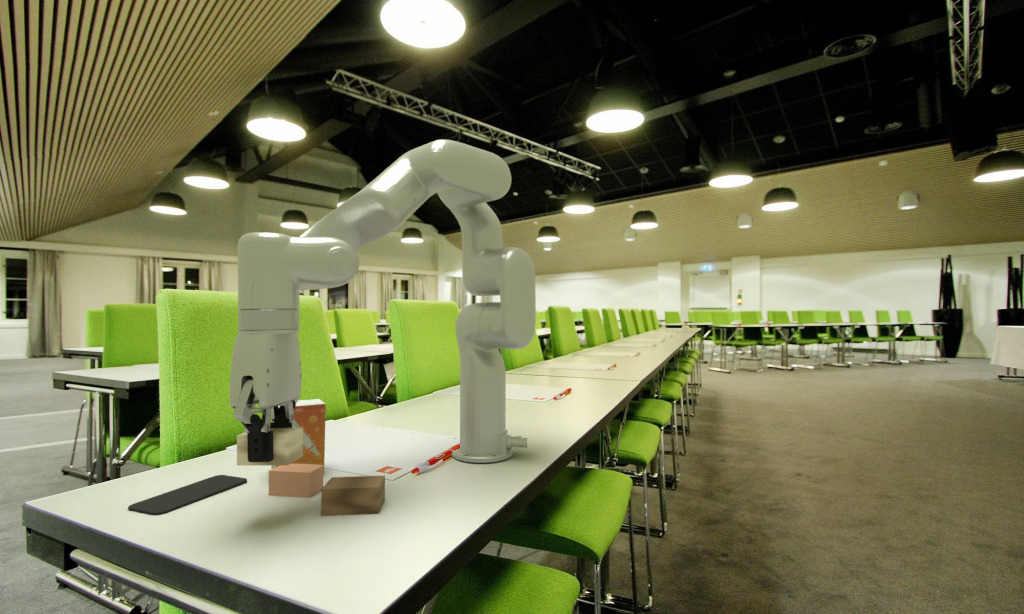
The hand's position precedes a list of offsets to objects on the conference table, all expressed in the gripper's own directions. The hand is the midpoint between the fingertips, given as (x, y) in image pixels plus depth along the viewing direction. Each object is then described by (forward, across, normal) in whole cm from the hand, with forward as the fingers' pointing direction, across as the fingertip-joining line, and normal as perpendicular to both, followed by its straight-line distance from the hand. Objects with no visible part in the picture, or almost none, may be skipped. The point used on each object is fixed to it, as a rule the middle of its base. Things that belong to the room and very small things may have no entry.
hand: (270, 454), depth 63 cm
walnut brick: (+10, -5, +10) cm, 15 cm away
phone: (+10, -9, -18) cm, 23 cm away
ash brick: (+1, 0, 0) cm, 1 cm away
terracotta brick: (+10, -11, -2) cm, 15 cm away
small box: (+10, -19, -6) cm, 23 cm away
